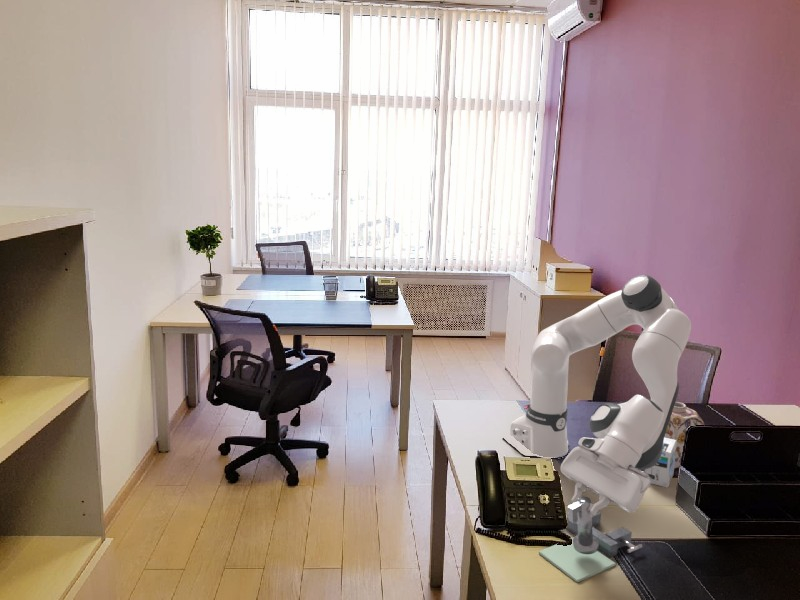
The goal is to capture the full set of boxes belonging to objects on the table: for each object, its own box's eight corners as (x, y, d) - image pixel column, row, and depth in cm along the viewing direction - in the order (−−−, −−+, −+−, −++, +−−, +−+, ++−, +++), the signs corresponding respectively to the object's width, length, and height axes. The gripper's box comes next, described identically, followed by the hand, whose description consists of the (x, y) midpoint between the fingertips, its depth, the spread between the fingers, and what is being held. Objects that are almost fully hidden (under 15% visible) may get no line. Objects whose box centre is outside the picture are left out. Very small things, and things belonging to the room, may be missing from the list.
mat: (538, 553, 144) (538, 551, 144) (575, 538, 150) (575, 536, 150) (577, 582, 134) (577, 580, 134) (615, 565, 140) (615, 563, 140)
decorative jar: (701, 463, 189) (707, 408, 185) (672, 470, 185) (678, 413, 181) (670, 447, 200) (676, 395, 196) (642, 453, 195) (648, 400, 192)
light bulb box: (668, 488, 174) (671, 453, 172) (642, 482, 178) (646, 447, 175) (674, 473, 183) (677, 439, 181) (650, 467, 186) (653, 434, 184)
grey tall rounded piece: (563, 547, 142) (561, 502, 139) (585, 534, 145) (583, 490, 142) (581, 560, 137) (579, 514, 134) (604, 547, 140) (602, 501, 137)
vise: (563, 526, 155) (563, 515, 155) (588, 516, 160) (588, 506, 159) (618, 563, 141) (619, 551, 140) (644, 551, 145) (645, 540, 144)
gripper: (660, 483, 134) (626, 537, 131) (587, 448, 151) (556, 494, 148) (648, 469, 131) (613, 524, 128) (575, 434, 148) (543, 482, 145)
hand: (582, 508), depth 138 cm, fingers closed on grey tall rounded piece, 3 cm apart
